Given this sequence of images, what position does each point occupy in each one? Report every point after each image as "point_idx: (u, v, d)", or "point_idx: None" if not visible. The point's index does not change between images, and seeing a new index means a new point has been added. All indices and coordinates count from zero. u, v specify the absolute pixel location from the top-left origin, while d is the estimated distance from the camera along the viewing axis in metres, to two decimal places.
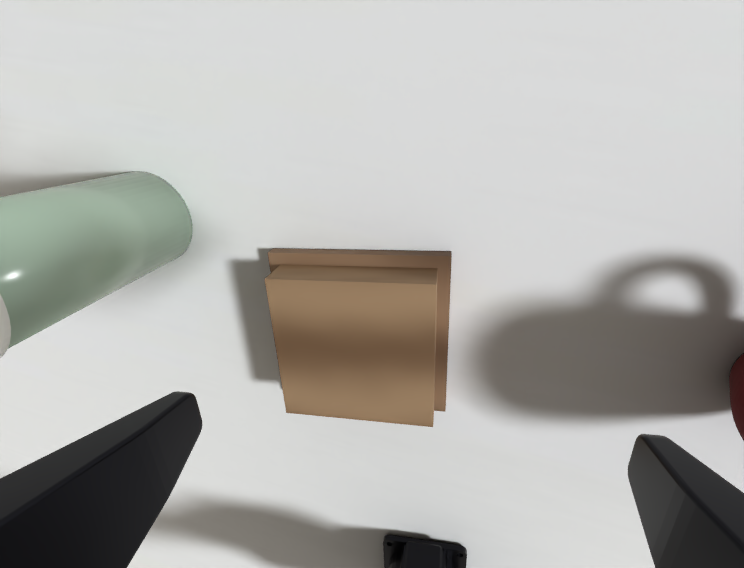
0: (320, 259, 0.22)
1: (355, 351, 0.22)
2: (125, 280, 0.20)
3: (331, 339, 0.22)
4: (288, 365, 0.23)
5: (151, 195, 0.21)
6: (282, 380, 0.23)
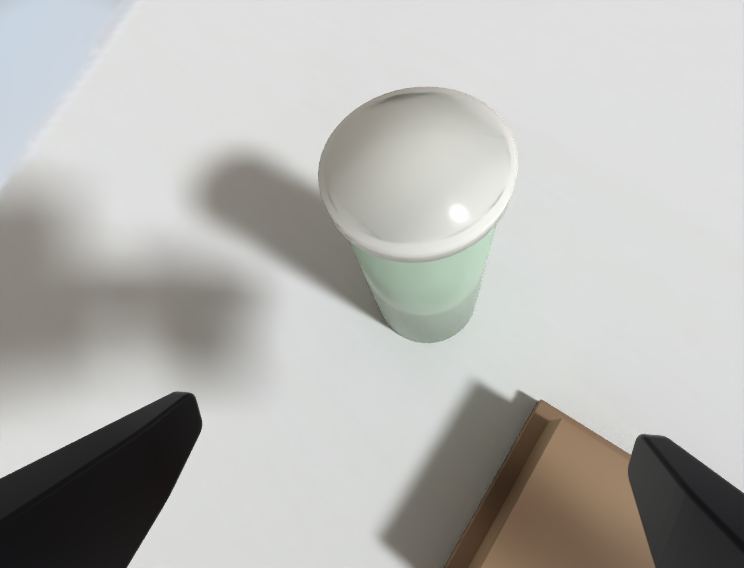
0: None
1: None
2: (439, 313, 0.17)
3: (604, 552, 0.15)
4: (511, 548, 0.15)
5: None
6: (484, 565, 0.15)
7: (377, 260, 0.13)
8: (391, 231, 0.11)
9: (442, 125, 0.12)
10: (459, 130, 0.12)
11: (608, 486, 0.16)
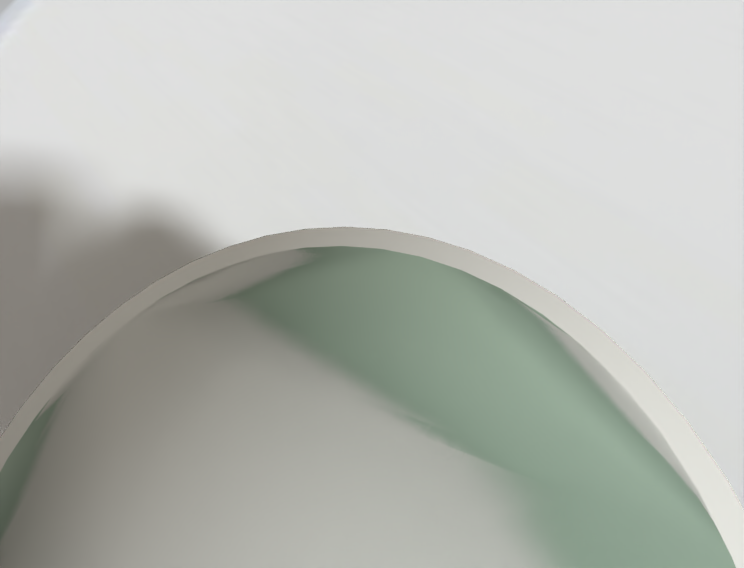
0: None
1: None
2: None
3: None
4: None
5: None
6: None
7: None
8: None
9: (422, 421, 0.03)
10: (495, 464, 0.03)
11: None
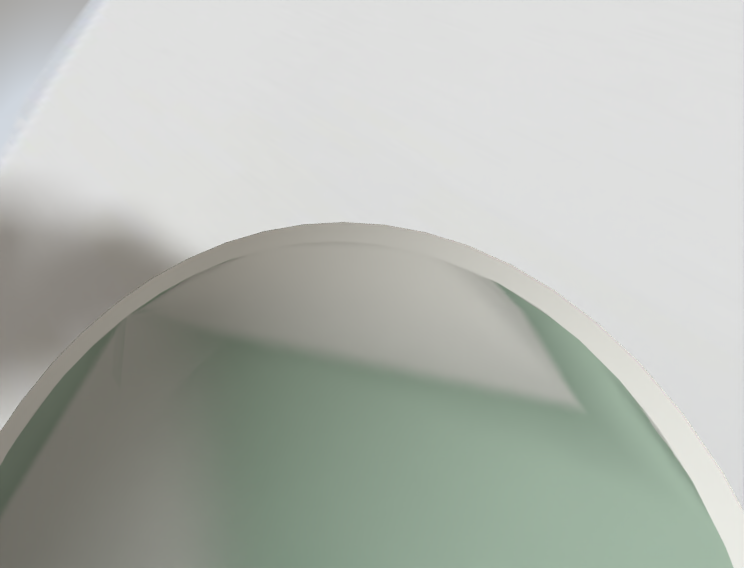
0: None
1: None
2: None
3: None
4: None
5: None
6: None
7: None
8: None
9: (419, 414, 0.03)
10: (491, 455, 0.03)
11: None
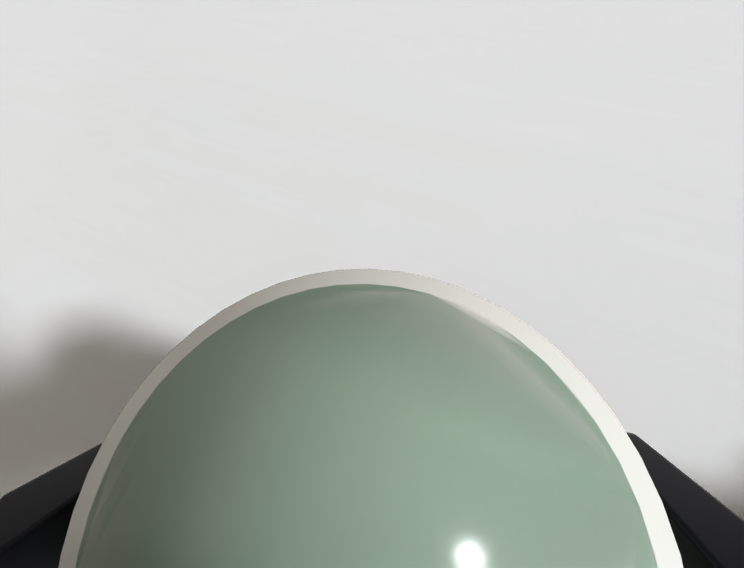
0: None
1: None
2: None
3: None
4: None
5: None
6: None
7: None
8: None
9: (429, 415, 0.04)
10: (481, 444, 0.04)
11: None
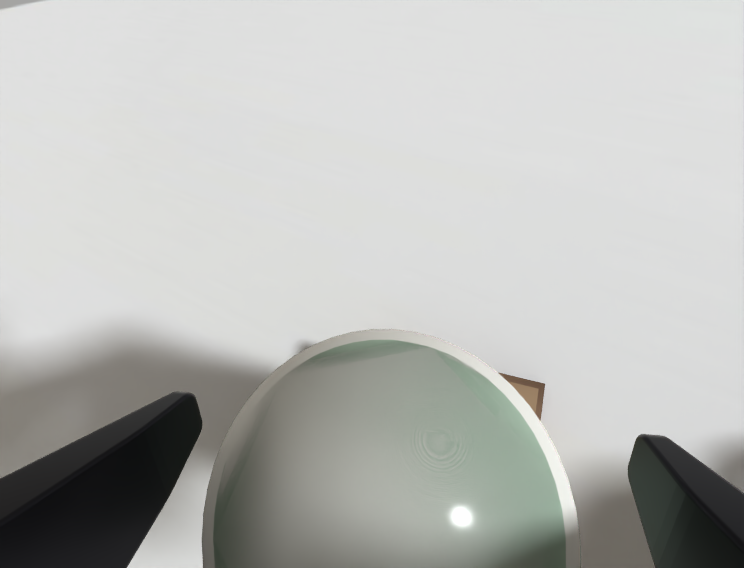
0: None
1: None
2: None
3: None
4: None
5: None
6: None
7: None
8: None
9: (432, 427, 0.07)
10: (463, 445, 0.06)
11: None
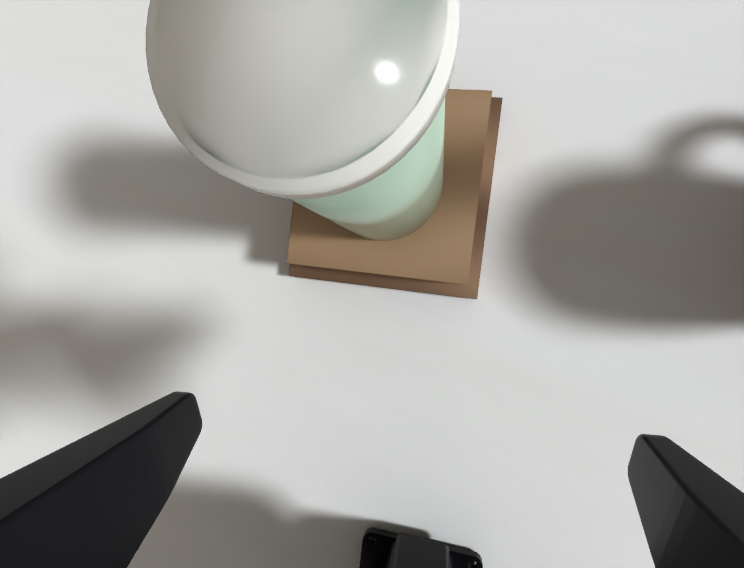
0: None
1: None
2: (391, 221, 0.14)
3: None
4: None
5: None
6: (293, 215, 0.20)
7: None
8: (272, 160, 0.07)
9: None
10: None
11: None
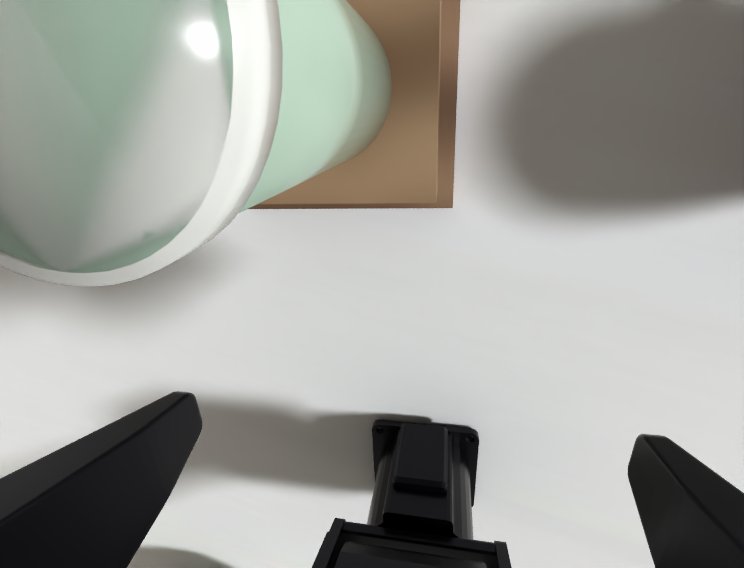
0: None
1: None
2: (317, 174, 0.11)
3: None
4: None
5: (377, 48, 0.12)
6: None
7: None
8: (63, 248, 0.05)
9: None
10: None
11: None
